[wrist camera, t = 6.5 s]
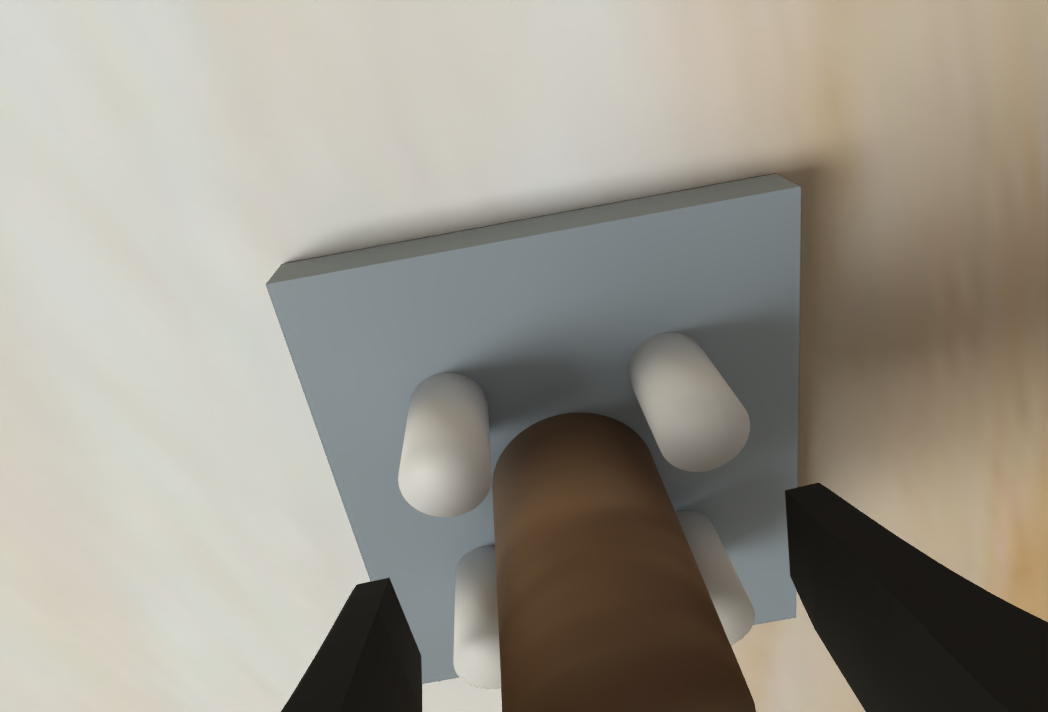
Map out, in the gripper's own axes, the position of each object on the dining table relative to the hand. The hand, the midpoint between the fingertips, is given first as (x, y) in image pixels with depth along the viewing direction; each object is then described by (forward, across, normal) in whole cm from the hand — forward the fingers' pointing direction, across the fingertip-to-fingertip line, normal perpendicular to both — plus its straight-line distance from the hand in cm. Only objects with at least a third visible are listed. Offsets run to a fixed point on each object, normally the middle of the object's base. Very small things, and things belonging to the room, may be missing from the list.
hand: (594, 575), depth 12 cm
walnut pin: (+3, 0, 0) cm, 3 cm away
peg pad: (+4, 0, 0) cm, 4 cm away
